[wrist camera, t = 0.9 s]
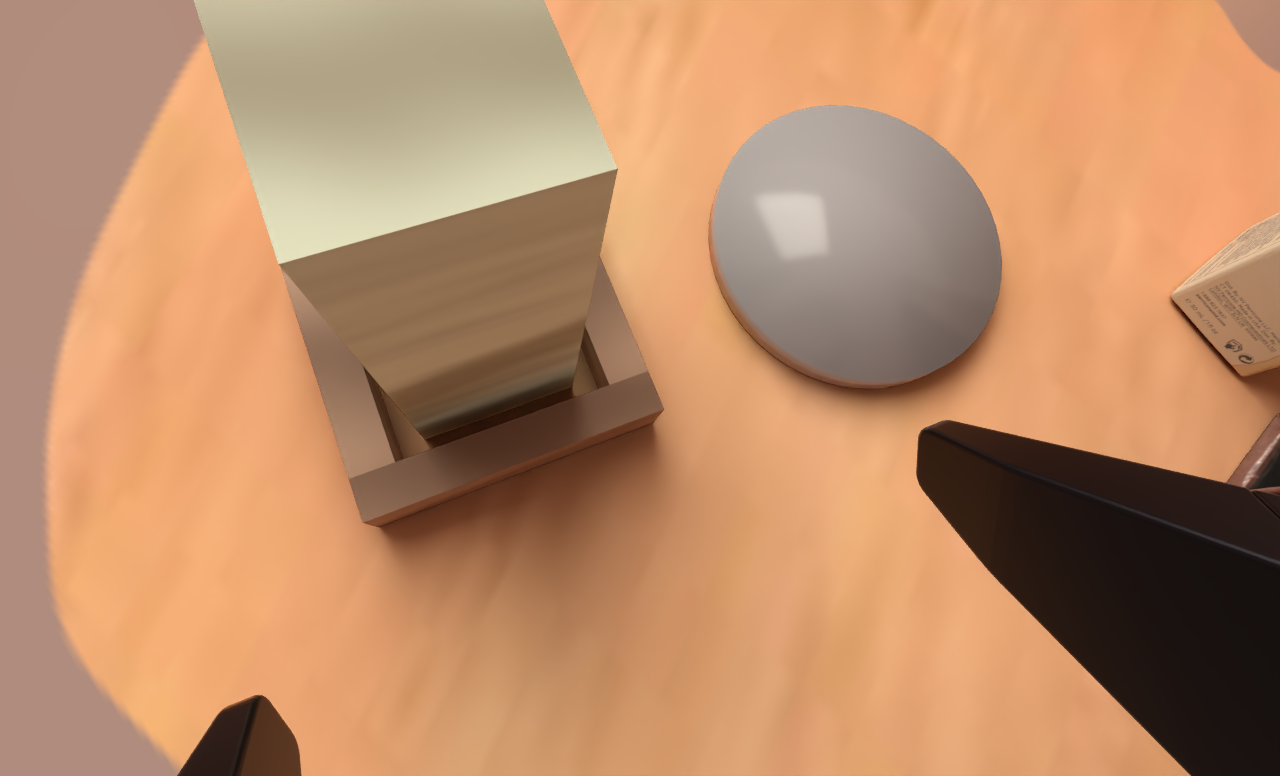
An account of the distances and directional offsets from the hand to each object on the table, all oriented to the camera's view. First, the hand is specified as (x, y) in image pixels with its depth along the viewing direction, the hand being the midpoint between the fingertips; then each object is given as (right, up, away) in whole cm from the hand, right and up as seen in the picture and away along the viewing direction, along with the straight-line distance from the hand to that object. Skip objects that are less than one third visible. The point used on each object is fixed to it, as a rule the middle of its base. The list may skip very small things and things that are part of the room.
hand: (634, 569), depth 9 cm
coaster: (+8, +8, +17) cm, 20 cm away
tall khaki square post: (-5, +4, +14) cm, 15 cm away
